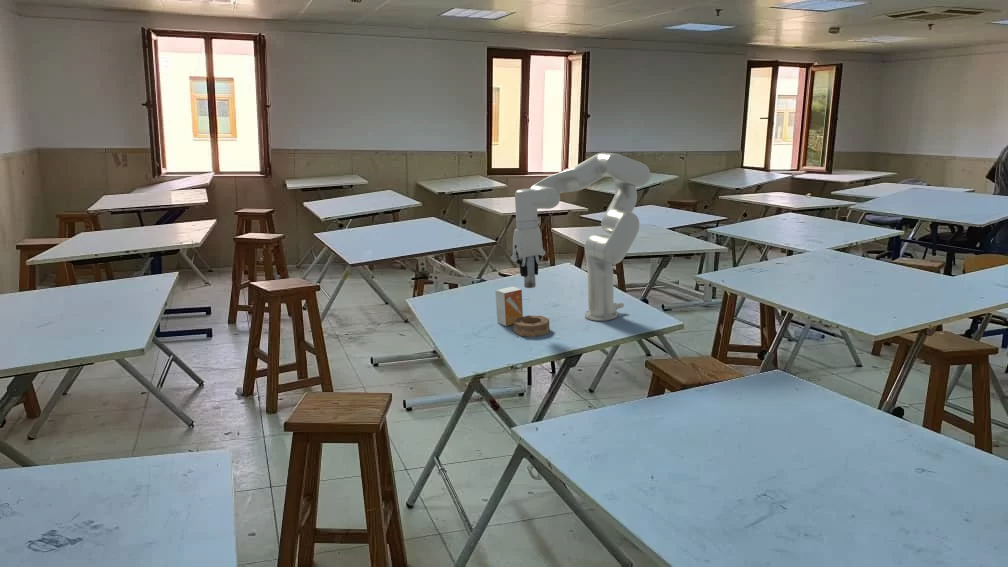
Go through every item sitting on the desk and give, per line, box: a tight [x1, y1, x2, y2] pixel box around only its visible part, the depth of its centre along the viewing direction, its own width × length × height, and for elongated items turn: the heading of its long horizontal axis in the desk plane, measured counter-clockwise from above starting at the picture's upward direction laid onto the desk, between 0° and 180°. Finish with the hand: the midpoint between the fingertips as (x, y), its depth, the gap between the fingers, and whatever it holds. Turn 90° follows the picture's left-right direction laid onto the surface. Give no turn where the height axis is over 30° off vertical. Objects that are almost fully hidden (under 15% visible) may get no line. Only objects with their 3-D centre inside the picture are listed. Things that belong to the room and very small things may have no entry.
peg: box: [523, 255, 536, 289], centre depth 251 cm, size 4×4×12 cm
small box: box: [495, 286, 524, 327], centre depth 267 cm, size 8×6×13 cm
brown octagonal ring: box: [513, 315, 550, 338], centre depth 256 cm, size 12×12×4 cm
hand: (529, 274), depth 251 cm, fingers closed on peg, 4 cm apart
